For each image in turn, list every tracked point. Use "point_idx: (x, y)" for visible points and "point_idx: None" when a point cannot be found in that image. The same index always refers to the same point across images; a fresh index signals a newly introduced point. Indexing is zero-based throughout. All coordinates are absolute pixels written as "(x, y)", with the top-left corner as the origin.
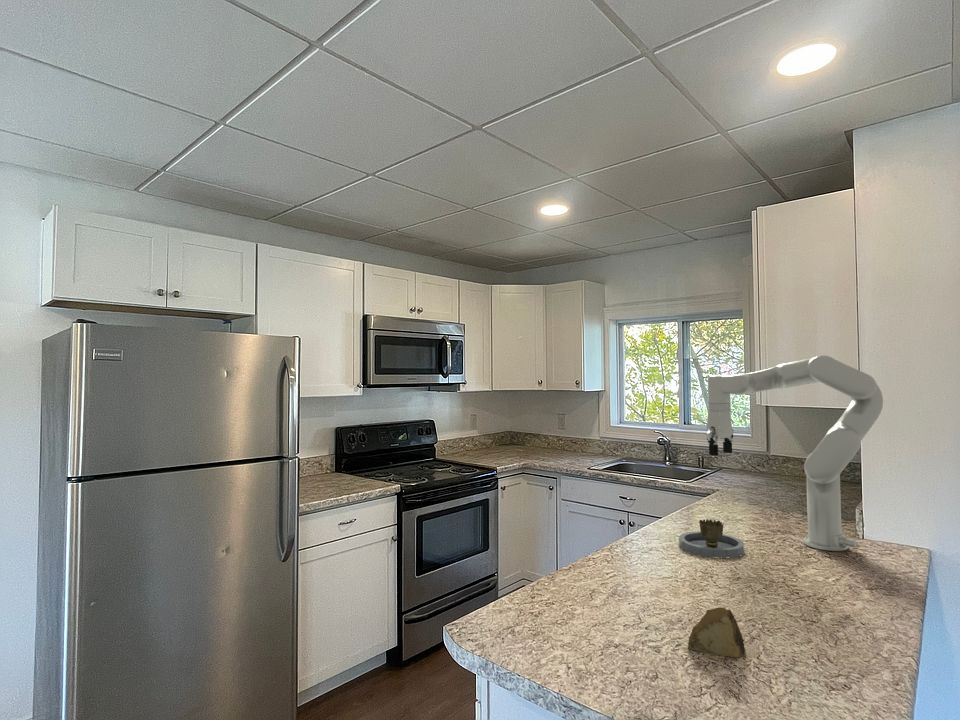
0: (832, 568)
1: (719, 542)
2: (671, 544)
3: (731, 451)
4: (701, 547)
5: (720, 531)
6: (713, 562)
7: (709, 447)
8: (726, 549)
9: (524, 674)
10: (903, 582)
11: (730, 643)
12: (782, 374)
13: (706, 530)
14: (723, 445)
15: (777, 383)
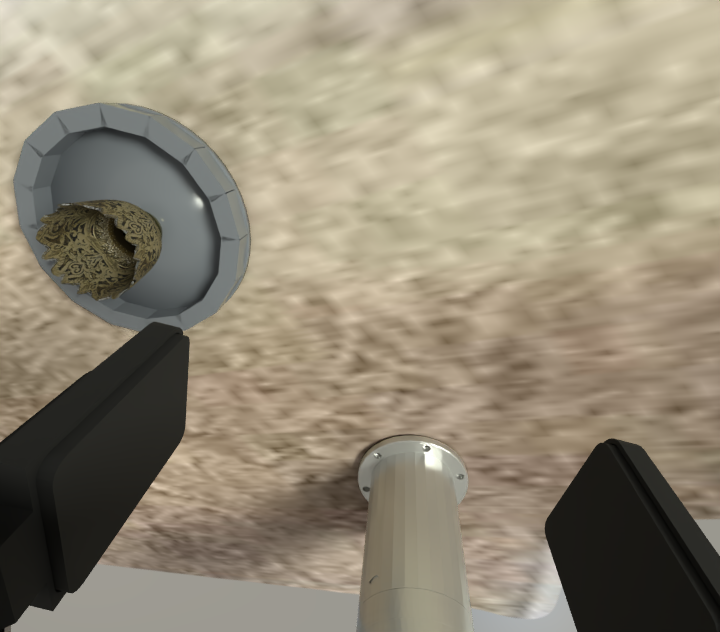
0: (226, 487)
1: (205, 239)
2: (62, 79)
3: (557, 552)
4: (25, 229)
5: (102, 283)
6: (27, 268)
7: (63, 404)
8: (78, 300)
9: None
10: (239, 567)
11: None
12: None
13: (61, 238)
14: (668, 557)
15: None
